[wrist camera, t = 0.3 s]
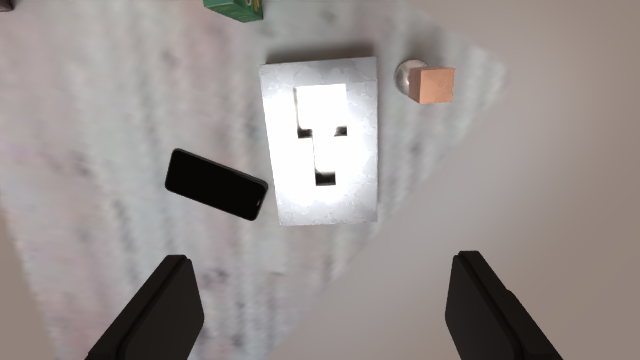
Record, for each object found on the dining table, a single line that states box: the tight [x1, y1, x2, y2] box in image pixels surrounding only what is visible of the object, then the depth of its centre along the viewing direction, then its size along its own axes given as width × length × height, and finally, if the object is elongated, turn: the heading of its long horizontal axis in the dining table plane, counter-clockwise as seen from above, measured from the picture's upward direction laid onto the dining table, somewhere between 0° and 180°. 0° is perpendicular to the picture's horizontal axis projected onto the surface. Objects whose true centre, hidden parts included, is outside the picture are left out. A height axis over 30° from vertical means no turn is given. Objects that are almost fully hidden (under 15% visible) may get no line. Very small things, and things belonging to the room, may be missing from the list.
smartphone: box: [165, 149, 268, 221], centre depth 48 cm, size 7×1×15 cm
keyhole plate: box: [258, 56, 377, 226], centre depth 43 cm, size 22×14×4 cm, turn 4°
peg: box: [394, 60, 455, 104], centre depth 36 cm, size 4×4×11 cm
